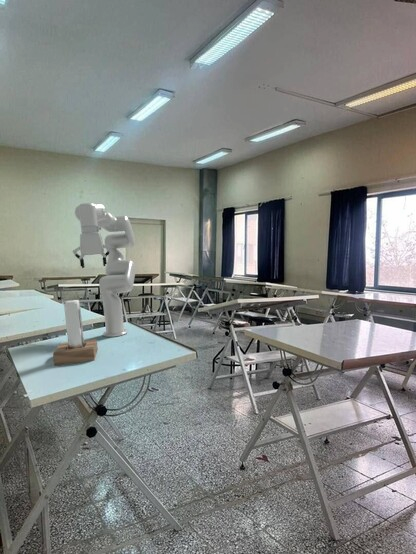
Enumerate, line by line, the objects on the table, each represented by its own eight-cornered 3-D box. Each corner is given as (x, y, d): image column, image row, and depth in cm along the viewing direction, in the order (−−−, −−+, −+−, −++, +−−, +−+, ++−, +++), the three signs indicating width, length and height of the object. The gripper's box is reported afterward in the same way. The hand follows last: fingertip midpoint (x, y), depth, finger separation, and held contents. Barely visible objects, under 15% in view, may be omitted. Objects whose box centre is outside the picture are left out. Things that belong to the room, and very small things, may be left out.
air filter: (81, 353, 169) (75, 299, 166) (88, 356, 164) (82, 300, 162) (67, 357, 164) (61, 301, 162) (74, 360, 160) (67, 302, 157)
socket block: (61, 354, 170) (60, 343, 170) (97, 349, 173) (96, 339, 173) (54, 365, 155) (52, 353, 154) (94, 360, 158) (93, 348, 157)
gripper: (109, 229, 179) (113, 264, 181) (71, 231, 176) (76, 268, 178) (108, 228, 172) (112, 265, 174) (69, 231, 169) (73, 269, 171)
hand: (94, 266), depth 176 cm, fingers open, 9 cm apart
